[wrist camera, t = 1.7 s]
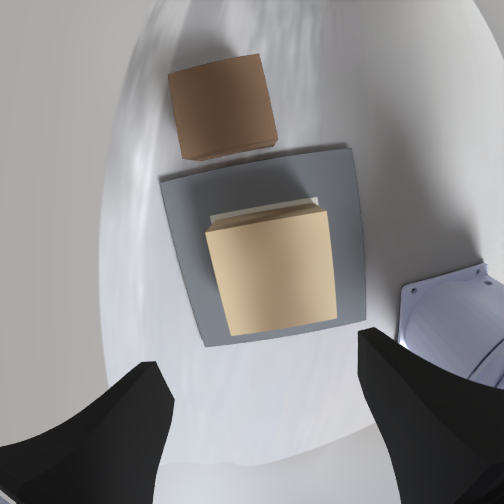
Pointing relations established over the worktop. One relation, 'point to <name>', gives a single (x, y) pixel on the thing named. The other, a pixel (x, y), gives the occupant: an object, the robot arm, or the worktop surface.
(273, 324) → the oak block
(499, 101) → the worktop surface
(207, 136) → the walnut block
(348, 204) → the mat
